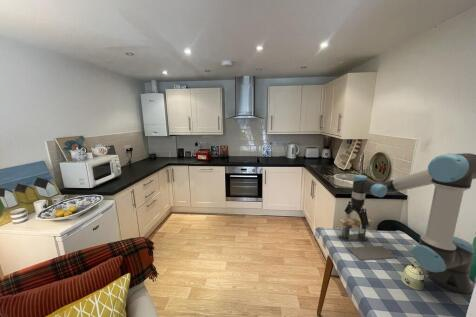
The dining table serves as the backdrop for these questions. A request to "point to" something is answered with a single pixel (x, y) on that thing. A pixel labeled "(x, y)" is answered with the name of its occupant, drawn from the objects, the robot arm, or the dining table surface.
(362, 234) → the stand
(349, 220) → the bread loaf
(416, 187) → the robot arm
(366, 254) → the mat
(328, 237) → the dining table surface
